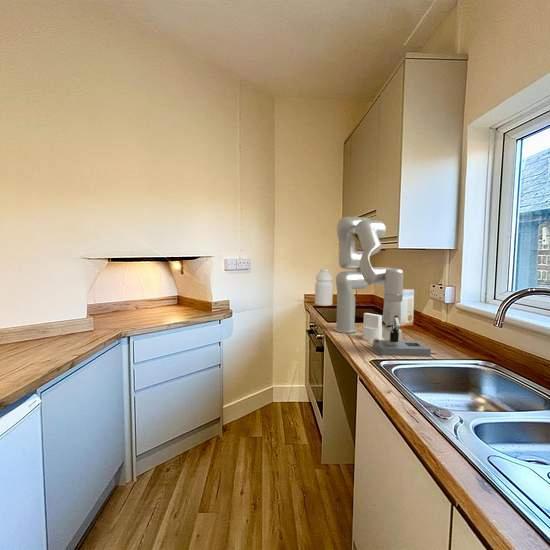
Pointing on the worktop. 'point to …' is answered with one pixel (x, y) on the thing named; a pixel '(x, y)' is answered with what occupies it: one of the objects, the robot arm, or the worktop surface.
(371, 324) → the base with upright slab
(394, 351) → the socket plate
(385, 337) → the plug
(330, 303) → the bottle
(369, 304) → the worktop surface
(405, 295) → the cracker box
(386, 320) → the robot arm
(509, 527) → the worktop surface
